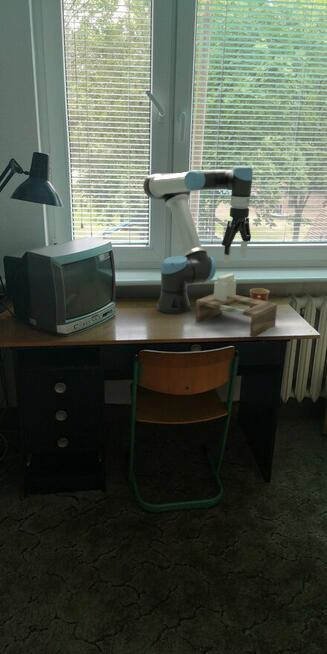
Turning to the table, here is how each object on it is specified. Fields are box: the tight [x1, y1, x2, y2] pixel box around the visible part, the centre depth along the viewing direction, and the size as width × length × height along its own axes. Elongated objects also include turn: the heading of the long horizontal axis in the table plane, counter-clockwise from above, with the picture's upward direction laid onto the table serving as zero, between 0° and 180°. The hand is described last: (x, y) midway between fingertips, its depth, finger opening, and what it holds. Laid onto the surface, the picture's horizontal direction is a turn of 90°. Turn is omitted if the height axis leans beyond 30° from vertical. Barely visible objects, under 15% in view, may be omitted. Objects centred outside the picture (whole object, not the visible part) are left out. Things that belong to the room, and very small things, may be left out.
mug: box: [249, 287, 271, 308], centre depth 217 cm, size 12×9×10 cm
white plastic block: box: [213, 273, 237, 301], centre depth 206 cm, size 5×9×10 cm, turn 141°
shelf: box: [195, 293, 278, 338], centre depth 204 cm, size 28×18×10 cm, turn 51°
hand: (235, 259), depth 202 cm, fingers open, 13 cm apart
